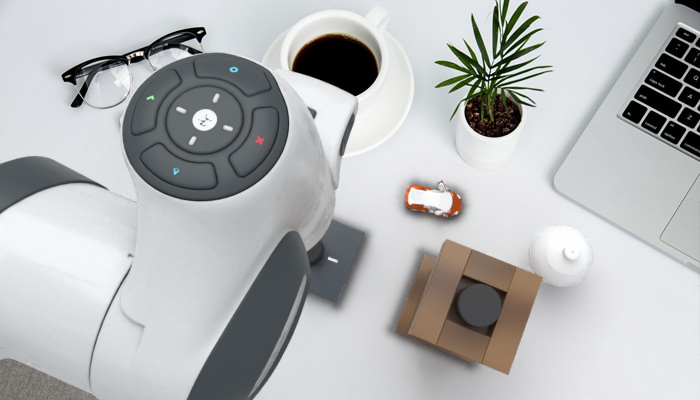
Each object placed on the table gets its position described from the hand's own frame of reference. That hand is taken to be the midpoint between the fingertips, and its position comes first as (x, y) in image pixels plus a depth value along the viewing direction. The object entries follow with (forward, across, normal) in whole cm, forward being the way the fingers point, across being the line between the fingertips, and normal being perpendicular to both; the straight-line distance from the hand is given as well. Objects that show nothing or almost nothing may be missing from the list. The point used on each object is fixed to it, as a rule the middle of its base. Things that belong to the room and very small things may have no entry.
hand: (294, 224), depth 54 cm
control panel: (+31, 0, +2) cm, 31 cm away
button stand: (+31, 0, -18) cm, 36 cm away
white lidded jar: (+31, +11, -28) cm, 44 cm away
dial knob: (+28, 0, +2) cm, 28 cm away
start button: (+8, 0, -18) cm, 20 cm away
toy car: (+31, +13, -12) cm, 36 cm away
